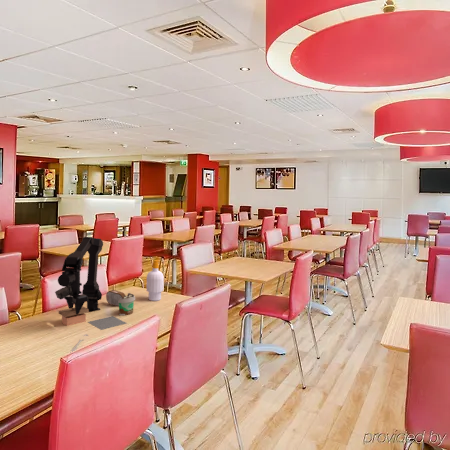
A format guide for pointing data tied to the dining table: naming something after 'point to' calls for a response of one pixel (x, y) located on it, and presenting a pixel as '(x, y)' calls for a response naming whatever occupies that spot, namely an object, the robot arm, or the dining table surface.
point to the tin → (114, 297)
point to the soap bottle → (155, 282)
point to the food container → (126, 304)
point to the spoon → (77, 344)
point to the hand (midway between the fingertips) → (73, 312)
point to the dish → (74, 319)
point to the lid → (72, 311)
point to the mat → (107, 322)
